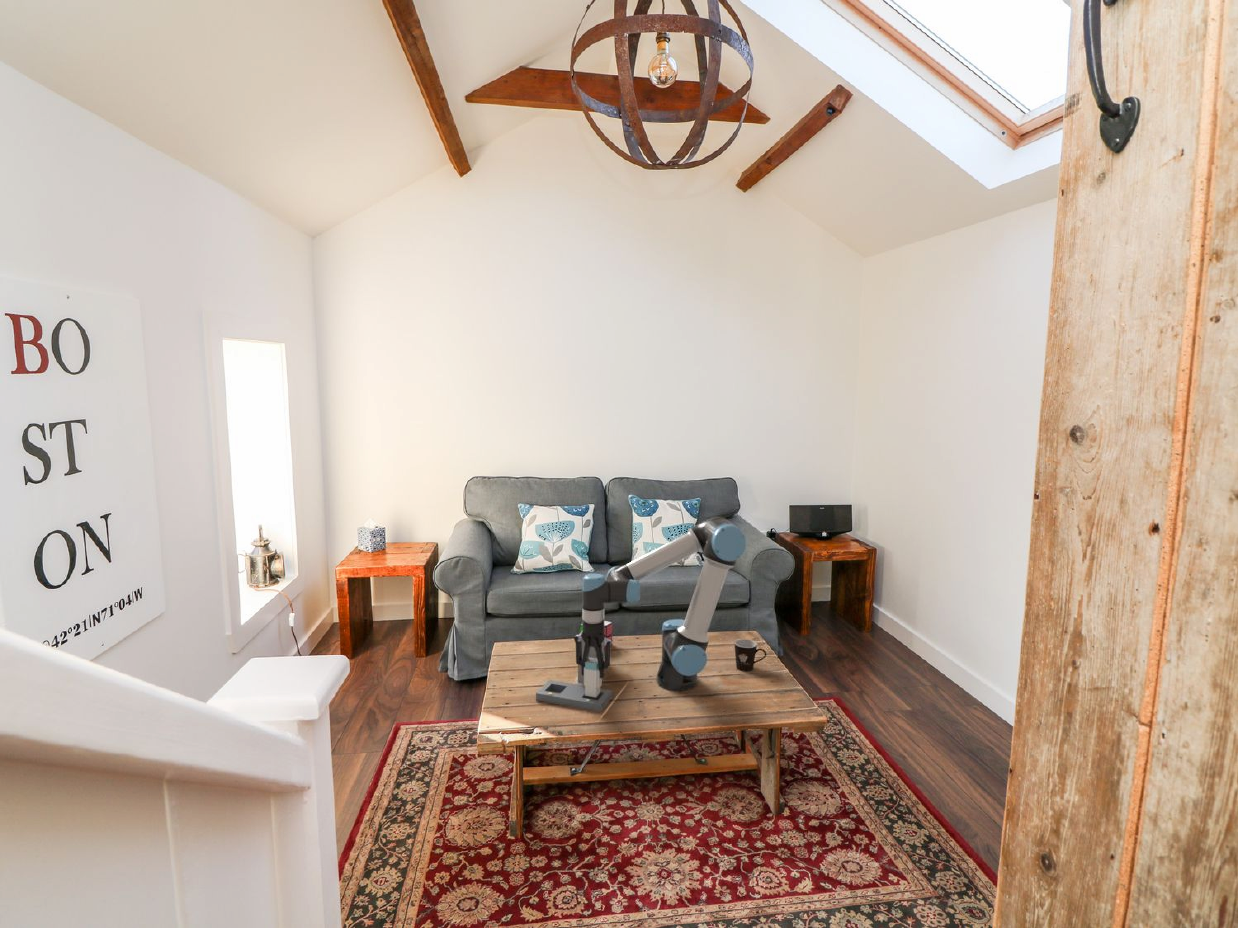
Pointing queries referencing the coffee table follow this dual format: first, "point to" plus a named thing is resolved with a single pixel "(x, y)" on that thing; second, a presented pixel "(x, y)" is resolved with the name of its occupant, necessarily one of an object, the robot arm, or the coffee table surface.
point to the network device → (591, 655)
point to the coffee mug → (746, 654)
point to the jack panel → (572, 696)
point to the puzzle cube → (605, 630)
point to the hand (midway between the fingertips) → (592, 685)
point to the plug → (591, 677)
